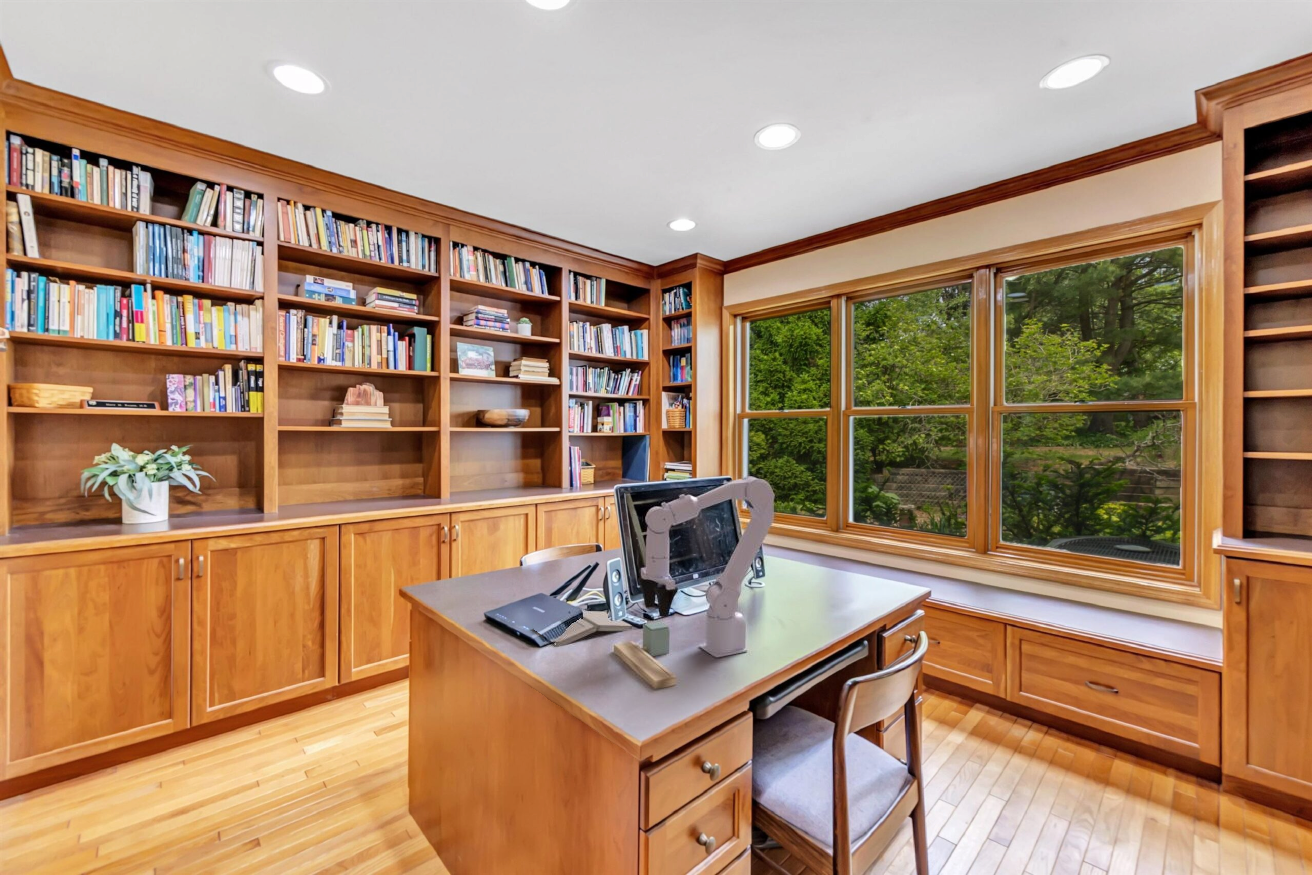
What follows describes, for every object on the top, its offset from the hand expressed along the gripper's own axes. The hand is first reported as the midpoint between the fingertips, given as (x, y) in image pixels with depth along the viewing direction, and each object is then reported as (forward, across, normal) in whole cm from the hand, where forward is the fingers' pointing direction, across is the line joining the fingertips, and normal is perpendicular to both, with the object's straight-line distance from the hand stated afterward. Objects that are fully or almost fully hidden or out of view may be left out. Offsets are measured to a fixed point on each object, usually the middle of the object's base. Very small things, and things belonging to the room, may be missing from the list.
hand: (656, 611), depth 136 cm
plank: (+10, +7, -7) cm, 14 cm away
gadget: (+11, -22, -11) cm, 27 cm away
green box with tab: (+10, 0, 0) cm, 10 cm away
